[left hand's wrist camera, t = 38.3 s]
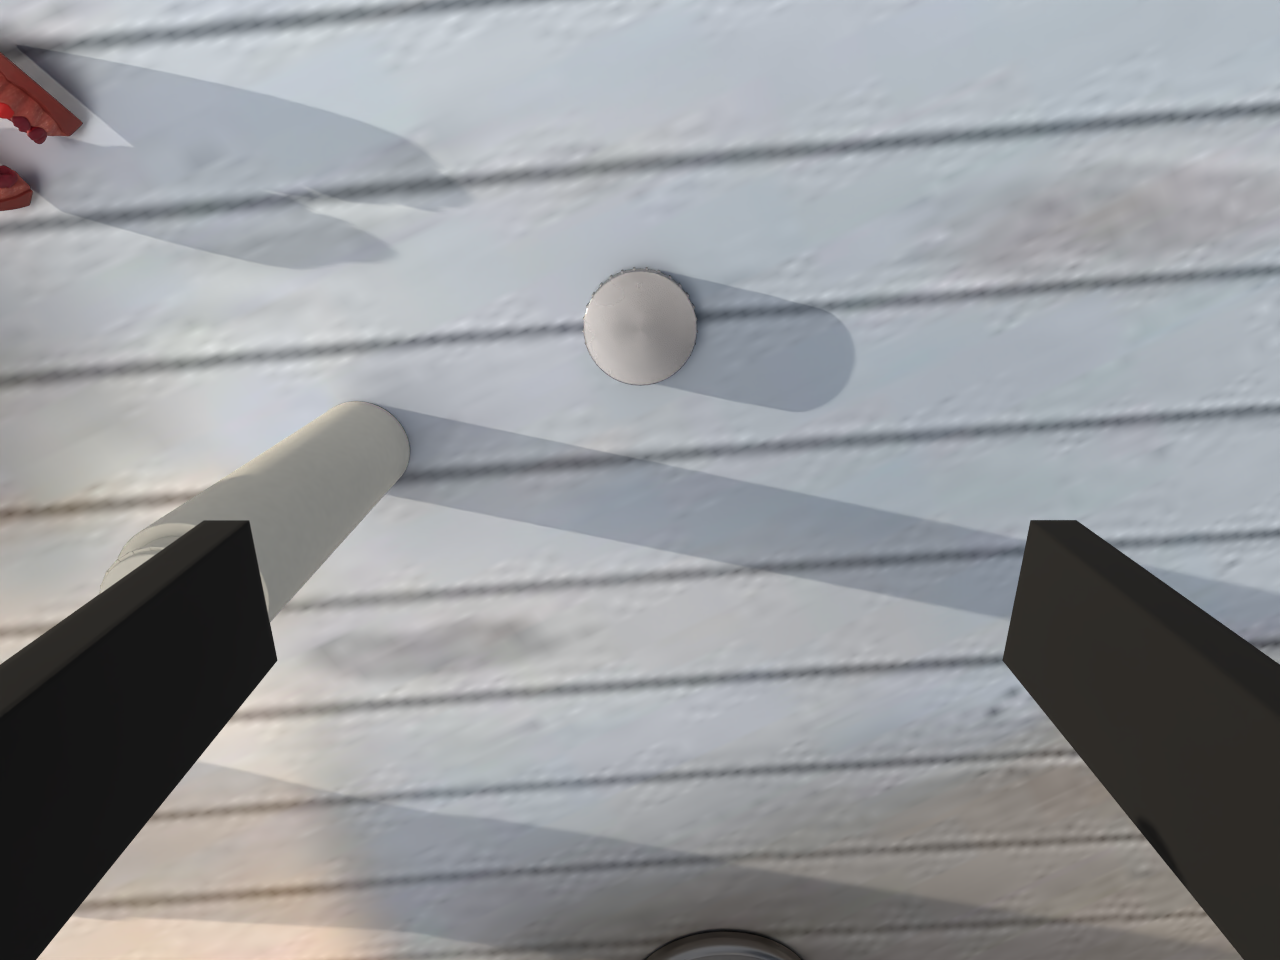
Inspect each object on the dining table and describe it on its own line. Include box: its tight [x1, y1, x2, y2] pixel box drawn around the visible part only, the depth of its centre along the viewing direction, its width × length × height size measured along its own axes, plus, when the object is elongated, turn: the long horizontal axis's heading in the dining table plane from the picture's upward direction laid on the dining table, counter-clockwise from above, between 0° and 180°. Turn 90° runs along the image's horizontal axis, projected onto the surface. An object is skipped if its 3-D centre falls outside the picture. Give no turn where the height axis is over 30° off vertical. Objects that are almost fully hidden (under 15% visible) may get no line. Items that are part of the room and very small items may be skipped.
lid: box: [583, 267, 698, 385], centre depth 40 cm, size 6×6×2 cm
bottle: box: [100, 401, 410, 622], centre depth 34 cm, size 6×6×19 cm
